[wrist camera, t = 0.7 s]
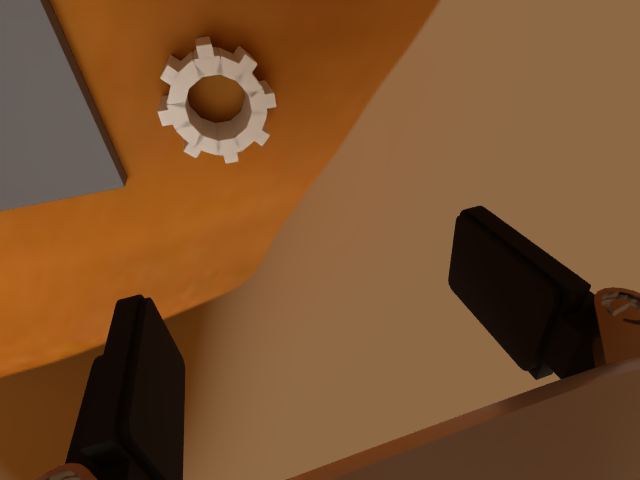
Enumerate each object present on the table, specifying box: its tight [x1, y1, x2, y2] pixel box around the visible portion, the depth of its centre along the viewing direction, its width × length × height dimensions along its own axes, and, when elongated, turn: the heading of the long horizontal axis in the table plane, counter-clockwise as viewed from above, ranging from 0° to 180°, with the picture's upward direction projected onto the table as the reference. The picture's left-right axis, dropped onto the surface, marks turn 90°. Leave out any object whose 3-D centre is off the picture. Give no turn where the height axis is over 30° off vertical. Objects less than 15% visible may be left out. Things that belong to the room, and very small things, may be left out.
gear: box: [158, 36, 276, 163], centre depth 25 cm, size 7×7×4 cm
